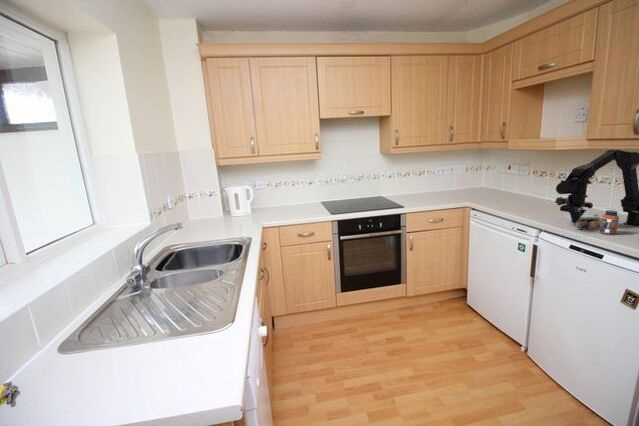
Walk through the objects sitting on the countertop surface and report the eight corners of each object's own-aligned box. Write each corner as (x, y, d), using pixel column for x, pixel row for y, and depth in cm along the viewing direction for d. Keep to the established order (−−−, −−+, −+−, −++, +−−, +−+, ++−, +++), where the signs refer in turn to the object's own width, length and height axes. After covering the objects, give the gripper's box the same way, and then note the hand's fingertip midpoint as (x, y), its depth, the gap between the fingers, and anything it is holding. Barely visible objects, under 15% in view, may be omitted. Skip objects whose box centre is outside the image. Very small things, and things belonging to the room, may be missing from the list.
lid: (592, 216, 166) (593, 208, 165) (601, 218, 159) (603, 210, 158) (565, 216, 167) (566, 208, 166) (574, 219, 160) (575, 211, 159)
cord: (581, 225, 160) (582, 220, 160) (588, 226, 158) (588, 221, 157) (574, 227, 157) (575, 222, 156) (580, 228, 155) (581, 223, 154)
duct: (586, 221, 166) (587, 216, 166) (602, 224, 160) (603, 219, 160) (574, 225, 161) (575, 220, 160) (590, 228, 155) (591, 222, 154)
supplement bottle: (610, 235, 142) (614, 212, 139) (596, 232, 147) (599, 210, 145) (619, 234, 143) (623, 211, 141) (604, 231, 149) (608, 209, 146)
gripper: (569, 189, 161) (565, 217, 164) (550, 193, 153) (546, 222, 156) (595, 191, 151) (590, 221, 154) (576, 195, 143) (571, 227, 146)
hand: (574, 223), depth 153 cm, fingers closed
